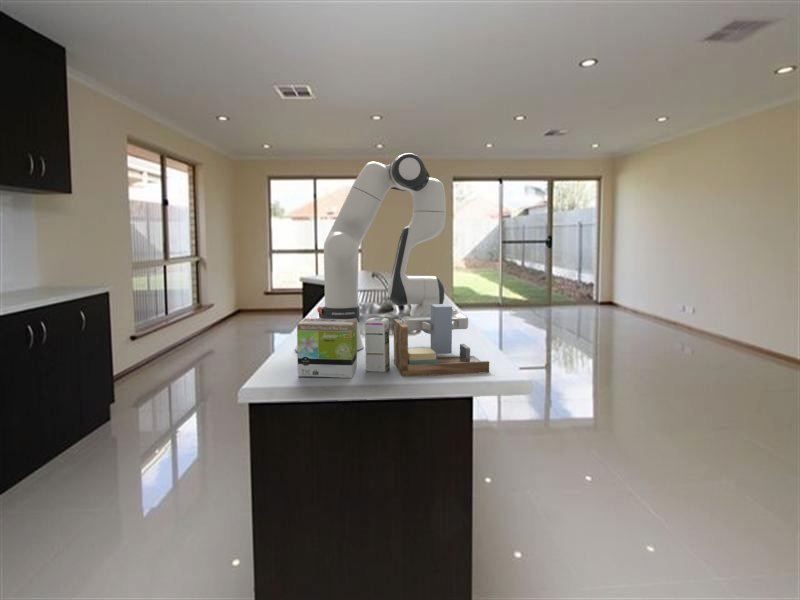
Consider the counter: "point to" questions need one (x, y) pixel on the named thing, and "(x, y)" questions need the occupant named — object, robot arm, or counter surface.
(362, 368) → the counter surface
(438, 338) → the light blue upright block
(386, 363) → the syrup box
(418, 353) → the book stack
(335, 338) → the tea box
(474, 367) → the shelf
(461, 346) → the bookend
